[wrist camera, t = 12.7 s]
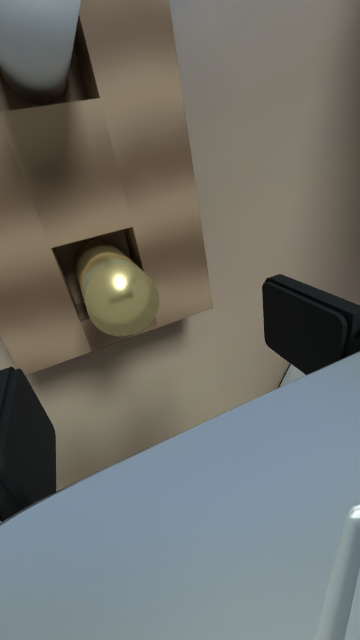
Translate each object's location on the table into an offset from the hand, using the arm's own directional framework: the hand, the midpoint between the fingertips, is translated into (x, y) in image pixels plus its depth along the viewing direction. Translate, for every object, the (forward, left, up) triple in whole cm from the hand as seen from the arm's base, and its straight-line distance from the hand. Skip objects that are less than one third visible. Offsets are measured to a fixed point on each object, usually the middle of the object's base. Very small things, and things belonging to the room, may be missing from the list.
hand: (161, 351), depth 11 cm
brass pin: (0, 0, -16) cm, 16 cm away
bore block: (-6, 0, -18) cm, 19 cm away
